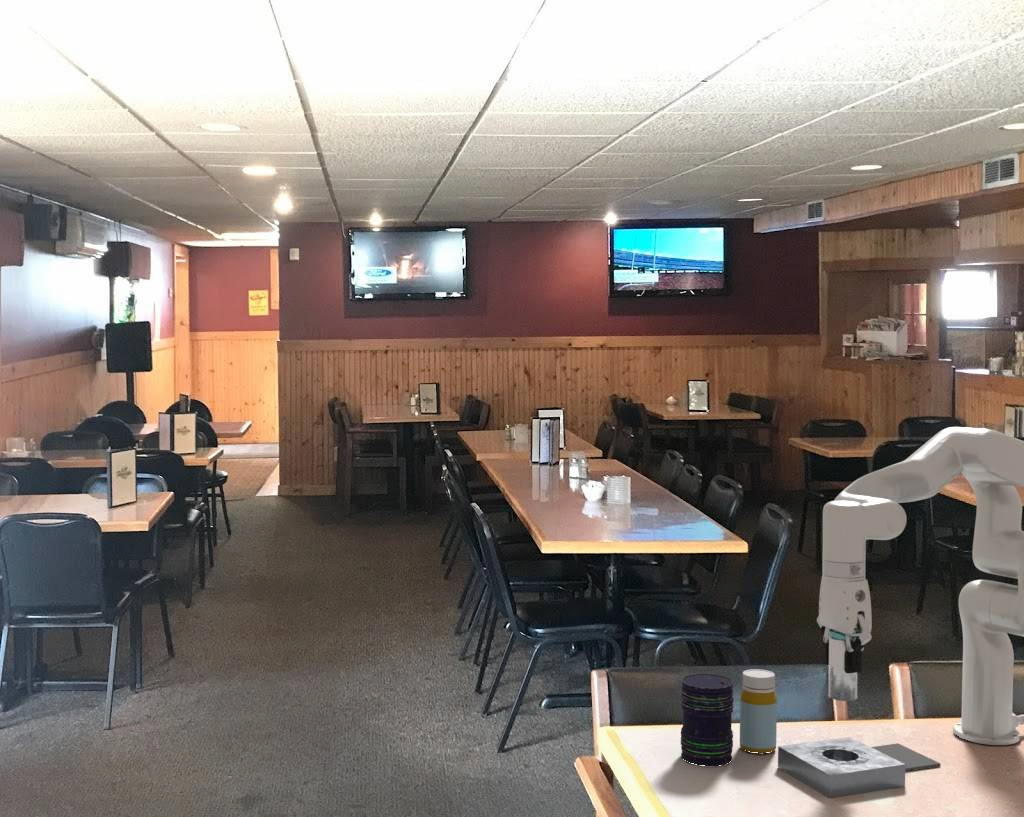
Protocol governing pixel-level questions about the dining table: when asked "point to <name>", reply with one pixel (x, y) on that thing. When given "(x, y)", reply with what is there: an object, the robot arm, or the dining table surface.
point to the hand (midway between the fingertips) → (843, 667)
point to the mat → (907, 756)
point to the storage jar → (707, 719)
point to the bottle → (758, 711)
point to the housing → (841, 766)
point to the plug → (840, 669)
